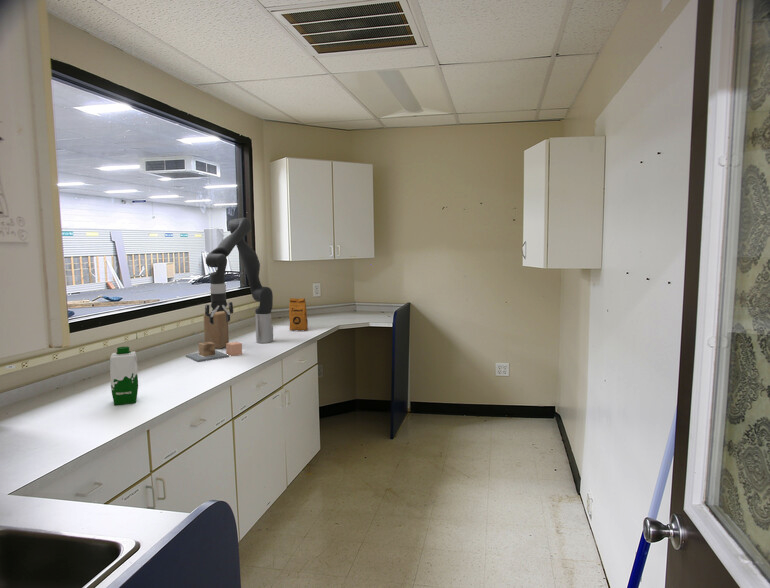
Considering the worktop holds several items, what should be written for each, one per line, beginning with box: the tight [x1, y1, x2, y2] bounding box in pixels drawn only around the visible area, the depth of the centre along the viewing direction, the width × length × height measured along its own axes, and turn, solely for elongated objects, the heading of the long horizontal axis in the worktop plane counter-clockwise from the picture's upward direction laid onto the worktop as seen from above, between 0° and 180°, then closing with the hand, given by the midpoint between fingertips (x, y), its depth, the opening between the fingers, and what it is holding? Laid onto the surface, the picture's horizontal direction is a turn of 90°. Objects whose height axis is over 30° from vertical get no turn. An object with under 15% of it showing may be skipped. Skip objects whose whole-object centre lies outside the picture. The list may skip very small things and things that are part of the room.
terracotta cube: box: [225, 341, 243, 357], centre depth 259 cm, size 6×6×6 cm
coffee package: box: [288, 297, 309, 332], centre depth 330 cm, size 10×12×22 cm
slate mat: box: [185, 349, 230, 363], centre depth 253 cm, size 16×16×1 cm
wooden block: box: [203, 311, 230, 350], centre depth 276 cm, size 10×10×20 cm
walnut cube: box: [198, 341, 216, 356], centre depth 253 cm, size 6×6×6 cm
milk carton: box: [109, 346, 139, 406], centre depth 180 cm, size 9×9×20 cm
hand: (220, 322), depth 255 cm, fingers open, 8 cm apart
